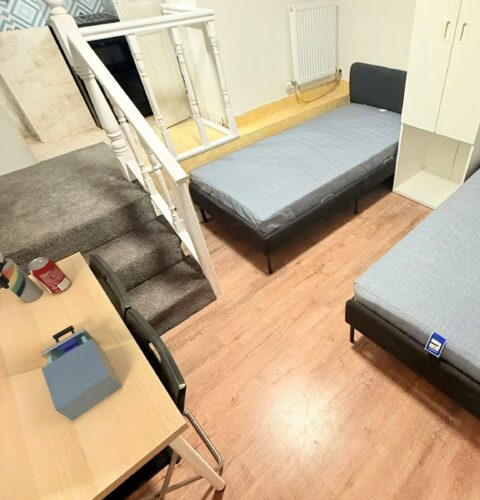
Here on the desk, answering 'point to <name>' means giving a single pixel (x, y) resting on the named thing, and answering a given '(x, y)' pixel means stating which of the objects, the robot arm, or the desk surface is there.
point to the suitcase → (80, 380)
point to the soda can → (48, 275)
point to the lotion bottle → (20, 282)
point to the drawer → (66, 343)
